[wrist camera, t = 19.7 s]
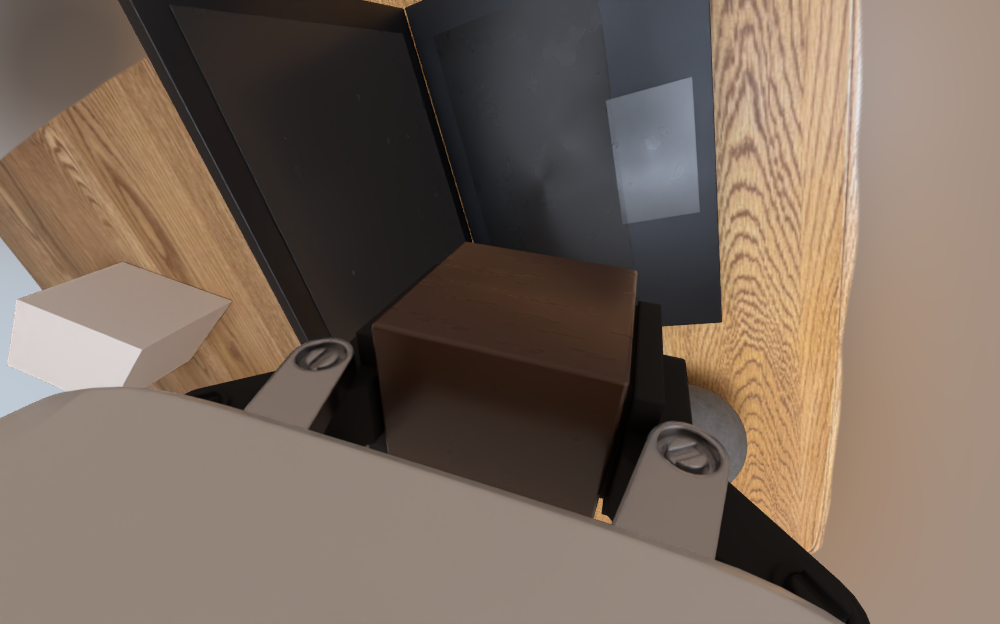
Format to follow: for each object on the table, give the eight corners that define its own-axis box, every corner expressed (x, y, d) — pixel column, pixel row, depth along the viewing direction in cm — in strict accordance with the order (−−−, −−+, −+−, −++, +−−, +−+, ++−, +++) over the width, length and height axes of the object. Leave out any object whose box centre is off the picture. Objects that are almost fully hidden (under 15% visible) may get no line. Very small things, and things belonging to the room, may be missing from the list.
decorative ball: (680, 346, 41) (686, 415, 32) (760, 404, 41) (788, 487, 33) (613, 401, 46) (605, 472, 38) (685, 452, 47) (693, 533, 38)
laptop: (701, -113, 26) (705, -126, 24) (719, 312, 38) (722, 323, 36) (415, 10, 34) (404, 7, 32) (506, 328, 46) (501, 337, 44)
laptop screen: (102, -58, 15) (91, -49, 16) (394, 503, 28) (384, 502, 28) (404, 7, 32) (396, 11, 33) (501, 337, 45) (495, 337, 45)
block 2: (464, 239, 11) (369, 324, 7) (638, 268, 10) (629, 383, 6) (463, 372, 14) (390, 488, 10) (605, 407, 13) (585, 552, 9)
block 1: (63, 277, 68) (-40, 313, 58) (196, 241, 54) (91, 280, 44) (130, 365, 75) (48, 411, 65) (263, 353, 62) (186, 409, 51)
